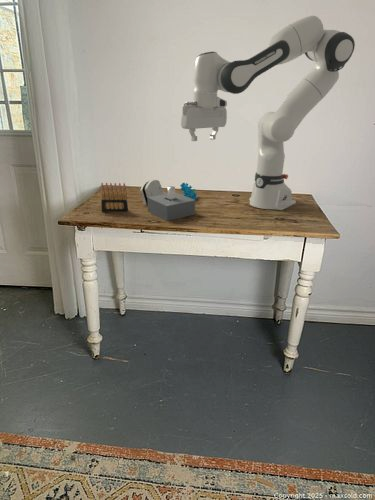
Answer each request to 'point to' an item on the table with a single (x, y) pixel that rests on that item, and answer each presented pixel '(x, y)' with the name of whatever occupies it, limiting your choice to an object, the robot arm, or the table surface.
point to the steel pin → (171, 193)
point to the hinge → (151, 190)
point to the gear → (188, 191)
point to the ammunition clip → (114, 199)
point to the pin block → (171, 206)
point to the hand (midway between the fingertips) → (203, 140)
